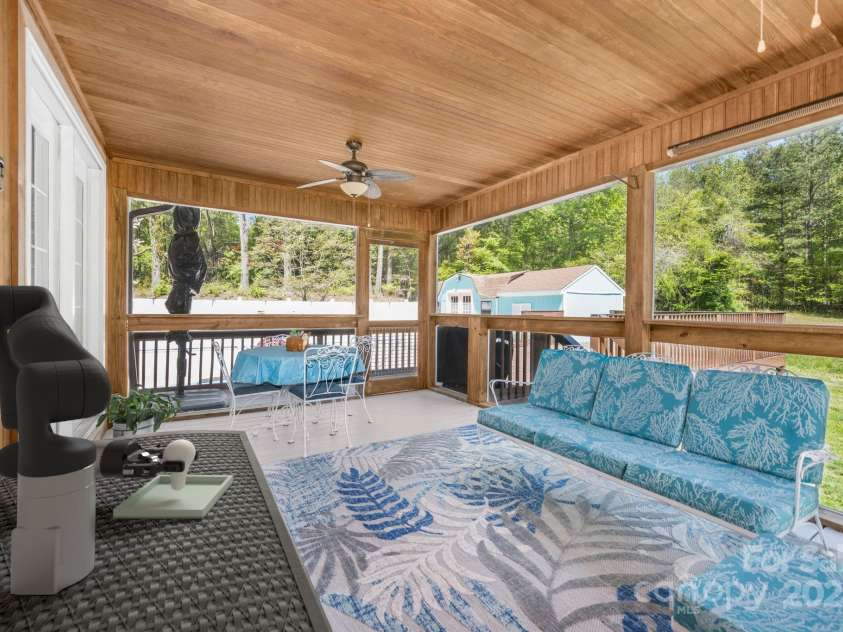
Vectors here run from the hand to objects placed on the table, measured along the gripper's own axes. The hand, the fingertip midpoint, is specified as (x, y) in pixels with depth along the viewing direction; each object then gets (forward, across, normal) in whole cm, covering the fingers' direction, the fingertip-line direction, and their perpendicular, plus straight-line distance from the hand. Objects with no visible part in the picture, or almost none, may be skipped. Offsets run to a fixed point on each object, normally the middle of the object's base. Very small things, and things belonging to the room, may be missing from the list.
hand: (191, 460), depth 93 cm
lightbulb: (-2, 0, +7) cm, 7 cm away
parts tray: (-2, 0, +8) cm, 9 cm away
